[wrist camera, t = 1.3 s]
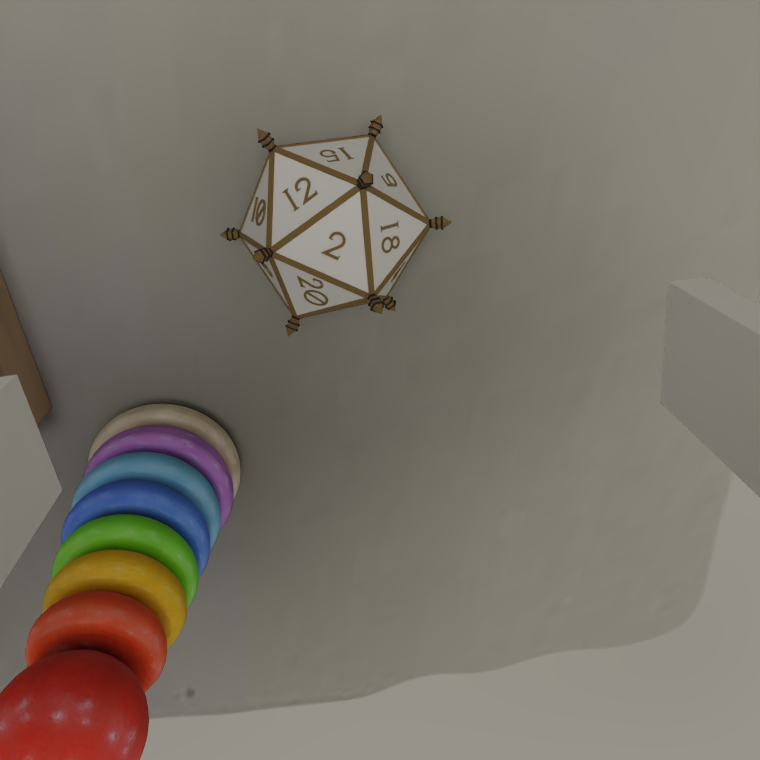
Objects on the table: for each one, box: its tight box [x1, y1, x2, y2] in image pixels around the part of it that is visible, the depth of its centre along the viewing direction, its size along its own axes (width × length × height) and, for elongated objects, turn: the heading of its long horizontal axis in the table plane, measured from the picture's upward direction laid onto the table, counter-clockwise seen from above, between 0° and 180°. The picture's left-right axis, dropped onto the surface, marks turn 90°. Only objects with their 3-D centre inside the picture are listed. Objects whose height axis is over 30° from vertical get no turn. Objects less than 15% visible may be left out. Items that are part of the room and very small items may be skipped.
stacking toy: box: [0, 404, 241, 760], centre depth 28 cm, size 8×8×19 cm
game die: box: [220, 115, 451, 336], centre depth 28 cm, size 9×8×10 cm
